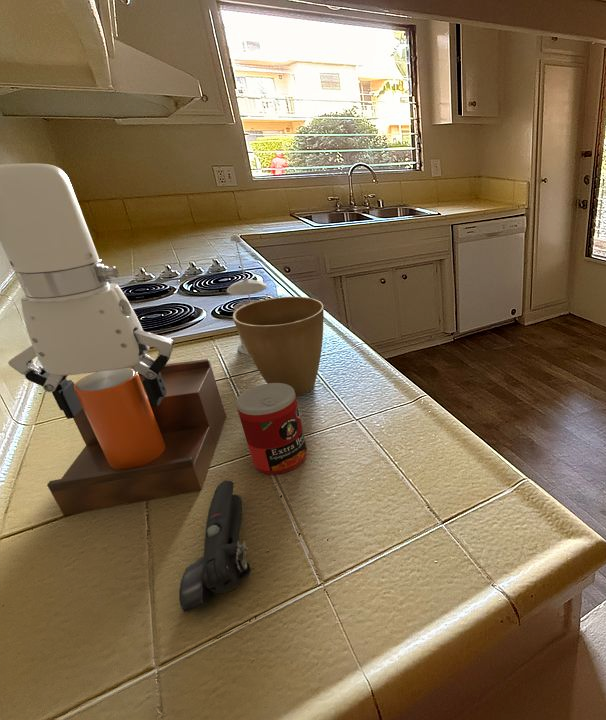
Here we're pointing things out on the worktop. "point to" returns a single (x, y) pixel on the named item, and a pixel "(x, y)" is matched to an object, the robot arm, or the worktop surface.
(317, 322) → the plant pot
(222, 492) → the can opener
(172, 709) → the worktop surface
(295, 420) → the canned food
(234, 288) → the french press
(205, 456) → the step shelf
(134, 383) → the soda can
